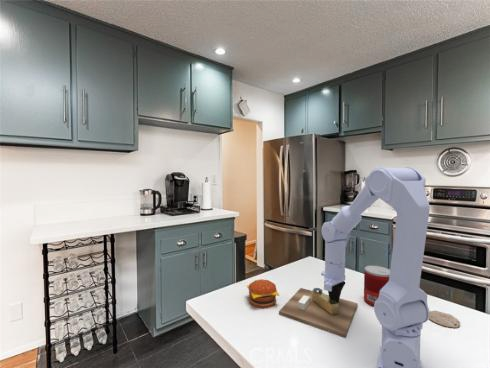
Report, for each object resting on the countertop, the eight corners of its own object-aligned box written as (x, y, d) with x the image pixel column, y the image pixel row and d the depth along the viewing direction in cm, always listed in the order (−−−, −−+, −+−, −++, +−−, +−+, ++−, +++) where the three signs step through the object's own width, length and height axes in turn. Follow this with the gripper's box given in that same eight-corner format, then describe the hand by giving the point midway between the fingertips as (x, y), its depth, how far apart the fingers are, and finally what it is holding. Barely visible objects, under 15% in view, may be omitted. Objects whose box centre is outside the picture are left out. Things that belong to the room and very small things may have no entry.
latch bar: (311, 299, 81) (311, 288, 81) (318, 297, 82) (318, 287, 82) (331, 315, 72) (331, 303, 72) (338, 313, 73) (338, 301, 73)
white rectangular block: (304, 310, 75) (304, 303, 75) (298, 308, 76) (298, 301, 76) (309, 303, 79) (309, 296, 79) (303, 301, 80) (303, 295, 80)
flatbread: (455, 332, 66) (455, 329, 66) (422, 319, 73) (422, 315, 73) (464, 321, 71) (464, 318, 71) (432, 310, 77) (432, 306, 77)
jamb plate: (345, 337, 64) (345, 333, 64) (278, 314, 75) (278, 311, 75) (357, 306, 79) (357, 303, 79) (300, 290, 90) (300, 287, 90)
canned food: (395, 310, 77) (396, 275, 76) (367, 307, 78) (368, 273, 78) (386, 298, 84) (387, 266, 84) (361, 295, 86) (361, 264, 85)
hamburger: (281, 306, 79) (281, 286, 79) (252, 311, 77) (252, 290, 76) (270, 292, 88) (270, 274, 88) (244, 296, 86) (244, 277, 85)
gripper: (328, 251, 84) (328, 291, 84) (313, 265, 72) (313, 311, 72) (350, 256, 79) (350, 297, 80) (339, 271, 68) (338, 319, 68)
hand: (334, 304), depth 76 cm, fingers closed, pressing on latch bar
